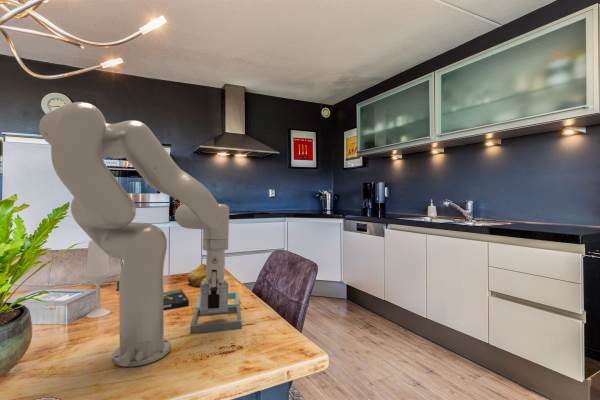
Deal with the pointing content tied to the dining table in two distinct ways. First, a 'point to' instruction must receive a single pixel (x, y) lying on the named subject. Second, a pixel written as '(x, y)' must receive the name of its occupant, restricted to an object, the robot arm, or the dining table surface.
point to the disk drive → (174, 300)
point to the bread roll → (198, 276)
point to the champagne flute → (97, 274)
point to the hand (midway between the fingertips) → (213, 304)
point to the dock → (219, 325)
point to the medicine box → (222, 298)
